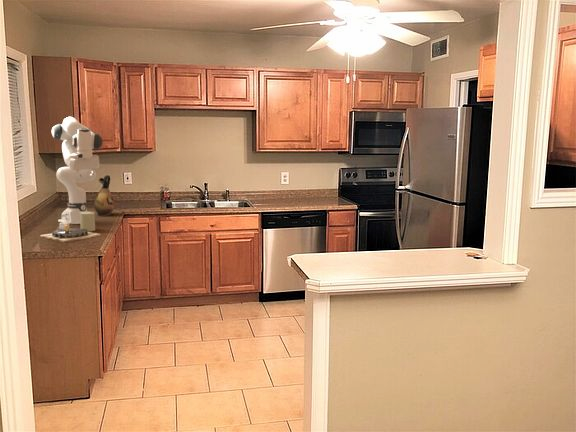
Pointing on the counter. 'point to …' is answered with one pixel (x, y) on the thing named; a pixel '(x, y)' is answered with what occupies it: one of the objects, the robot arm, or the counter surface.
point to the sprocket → (70, 232)
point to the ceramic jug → (104, 198)
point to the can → (87, 220)
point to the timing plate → (69, 239)
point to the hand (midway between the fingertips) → (85, 176)
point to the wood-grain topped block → (63, 226)
